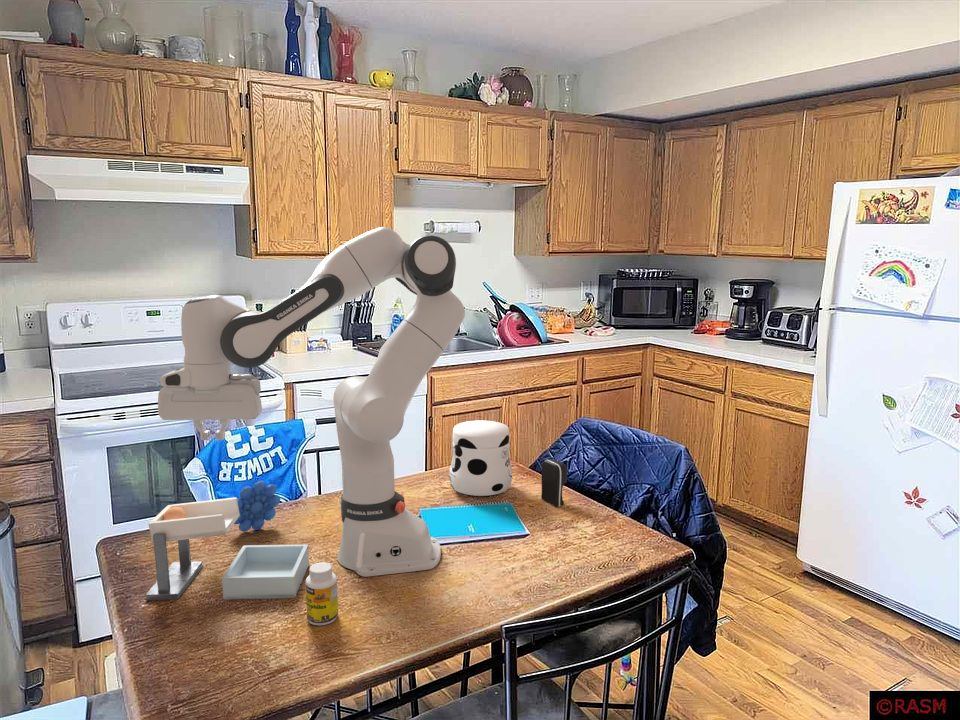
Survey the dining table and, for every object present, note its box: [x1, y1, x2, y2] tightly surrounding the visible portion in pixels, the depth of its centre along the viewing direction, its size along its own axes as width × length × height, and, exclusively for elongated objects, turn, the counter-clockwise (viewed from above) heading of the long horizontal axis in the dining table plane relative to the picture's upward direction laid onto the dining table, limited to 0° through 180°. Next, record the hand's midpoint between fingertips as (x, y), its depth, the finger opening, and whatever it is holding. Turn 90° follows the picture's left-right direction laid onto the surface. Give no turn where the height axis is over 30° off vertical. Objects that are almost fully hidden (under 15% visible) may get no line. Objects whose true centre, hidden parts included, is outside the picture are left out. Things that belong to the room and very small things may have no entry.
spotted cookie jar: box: [448, 419, 513, 499], centre depth 182 cm, size 17×17×18 cm
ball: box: [164, 507, 186, 520], centre depth 131 cm, size 4×4×4 cm
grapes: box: [233, 480, 281, 532], centre depth 158 cm, size 12×7×12 cm, turn 121°
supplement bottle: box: [305, 561, 339, 626], centre depth 121 cm, size 6×6×10 cm
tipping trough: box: [148, 497, 240, 544], centre depth 135 cm, size 14×16×4 cm
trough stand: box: [145, 533, 204, 601], centre depth 133 cm, size 6×13×13 cm, turn 3°
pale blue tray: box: [221, 544, 310, 600], centre depth 135 cm, size 14×14×4 cm
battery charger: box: [540, 458, 568, 508], centre depth 174 cm, size 7×4×11 cm, turn 34°
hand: (213, 439), depth 139 cm, fingers closed
